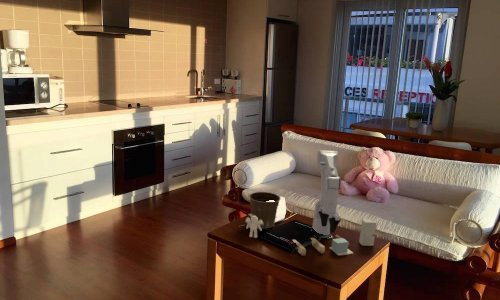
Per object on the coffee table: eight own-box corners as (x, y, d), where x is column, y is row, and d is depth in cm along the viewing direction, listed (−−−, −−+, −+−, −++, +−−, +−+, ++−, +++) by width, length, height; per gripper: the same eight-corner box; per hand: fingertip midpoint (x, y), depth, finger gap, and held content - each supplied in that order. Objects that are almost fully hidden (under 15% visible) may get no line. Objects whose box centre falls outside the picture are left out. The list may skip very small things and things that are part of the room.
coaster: (329, 248, 212) (329, 247, 212) (343, 246, 215) (344, 245, 215) (338, 255, 205) (338, 254, 205) (353, 253, 208) (353, 252, 208)
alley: (291, 245, 213) (292, 239, 212) (312, 243, 217) (313, 237, 216) (302, 255, 203) (302, 249, 202) (324, 252, 207) (325, 247, 206)
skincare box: (362, 245, 217) (365, 222, 215) (358, 242, 222) (361, 219, 219) (374, 245, 218) (377, 222, 216) (370, 242, 223) (373, 219, 220)
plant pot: (275, 233, 225) (277, 203, 222) (244, 229, 228) (246, 199, 225) (279, 222, 241) (282, 194, 238) (250, 218, 244) (252, 190, 241)
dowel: (334, 237, 226) (334, 234, 225) (336, 237, 226) (337, 234, 226) (346, 246, 215) (347, 243, 215) (349, 246, 216) (350, 243, 215)
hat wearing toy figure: (243, 236, 220) (245, 213, 217) (245, 233, 223) (247, 211, 221) (261, 239, 217) (262, 216, 215) (263, 236, 221) (264, 213, 218)
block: (342, 247, 213) (343, 238, 212) (347, 251, 209) (348, 241, 208) (331, 249, 211) (332, 239, 210) (336, 253, 207) (337, 243, 206)
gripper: (315, 197, 212) (313, 224, 215) (331, 207, 199) (328, 236, 202) (328, 196, 214) (325, 222, 217) (345, 206, 201) (342, 234, 204)
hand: (328, 229), depth 210 cm, fingers open, 7 cm apart
